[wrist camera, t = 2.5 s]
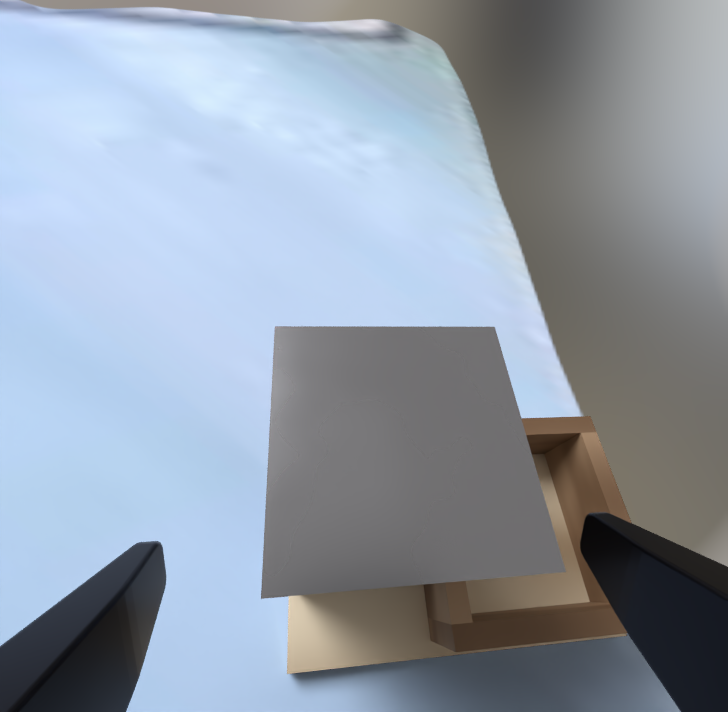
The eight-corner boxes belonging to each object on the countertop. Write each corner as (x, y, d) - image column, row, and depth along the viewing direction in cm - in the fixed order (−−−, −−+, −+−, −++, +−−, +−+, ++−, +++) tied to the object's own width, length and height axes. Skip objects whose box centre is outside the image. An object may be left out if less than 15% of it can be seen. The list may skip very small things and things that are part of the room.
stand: (616, 634, 16) (690, 645, 13) (288, 670, 14) (280, 695, 11) (551, 433, 20) (594, 405, 17) (292, 442, 18) (288, 413, 15)
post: (411, 580, 15) (566, 572, 6) (295, 590, 15) (261, 598, 5) (398, 465, 18) (494, 327, 8) (297, 470, 17) (274, 326, 8)
